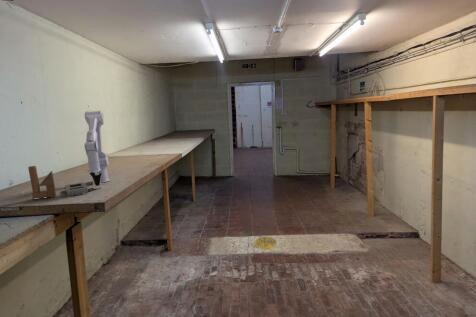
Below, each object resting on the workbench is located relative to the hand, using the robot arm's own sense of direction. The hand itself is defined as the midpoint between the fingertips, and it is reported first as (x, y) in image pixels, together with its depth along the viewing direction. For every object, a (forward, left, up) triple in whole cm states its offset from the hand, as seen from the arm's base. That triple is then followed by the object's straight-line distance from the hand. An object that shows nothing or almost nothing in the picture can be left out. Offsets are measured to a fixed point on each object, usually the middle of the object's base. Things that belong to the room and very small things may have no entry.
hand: (97, 184), depth 196 cm
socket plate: (0, -11, -2) cm, 11 cm away
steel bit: (0, 0, -2) cm, 2 cm away
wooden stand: (0, -27, -2) cm, 27 cm away
